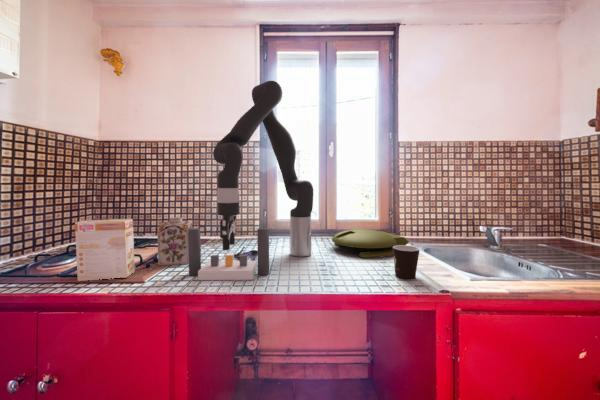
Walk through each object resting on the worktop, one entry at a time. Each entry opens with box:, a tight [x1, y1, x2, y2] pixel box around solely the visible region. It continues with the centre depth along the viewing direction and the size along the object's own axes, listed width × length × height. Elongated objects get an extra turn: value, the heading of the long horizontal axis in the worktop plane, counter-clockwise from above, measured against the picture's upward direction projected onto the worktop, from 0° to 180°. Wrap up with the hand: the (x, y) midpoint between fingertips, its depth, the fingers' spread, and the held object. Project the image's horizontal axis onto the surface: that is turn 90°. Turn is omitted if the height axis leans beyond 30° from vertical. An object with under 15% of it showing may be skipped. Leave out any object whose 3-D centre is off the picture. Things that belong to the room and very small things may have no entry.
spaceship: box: [331, 228, 410, 259], centre depth 137 cm, size 35×31×10 cm
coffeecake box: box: [74, 218, 136, 282], centre depth 96 cm, size 15×7×20 cm, turn 100°
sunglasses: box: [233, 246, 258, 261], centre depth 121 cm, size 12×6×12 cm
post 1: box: [188, 227, 202, 277], centre depth 99 cm, size 4×4×16 cm
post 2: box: [256, 227, 270, 277], centre depth 100 cm, size 4×4×16 cm
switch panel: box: [197, 254, 258, 281], centre depth 100 cm, size 18×12×7 cm, turn 92°
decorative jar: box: [156, 216, 194, 266], centre depth 116 cm, size 12×12×18 cm
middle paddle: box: [224, 254, 234, 266], centre depth 100 cm, size 2×2×4 cm
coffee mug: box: [392, 244, 420, 281], centre depth 98 cm, size 12×9×10 cm
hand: (229, 247), depth 99 cm, fingers open, 8 cm apart
